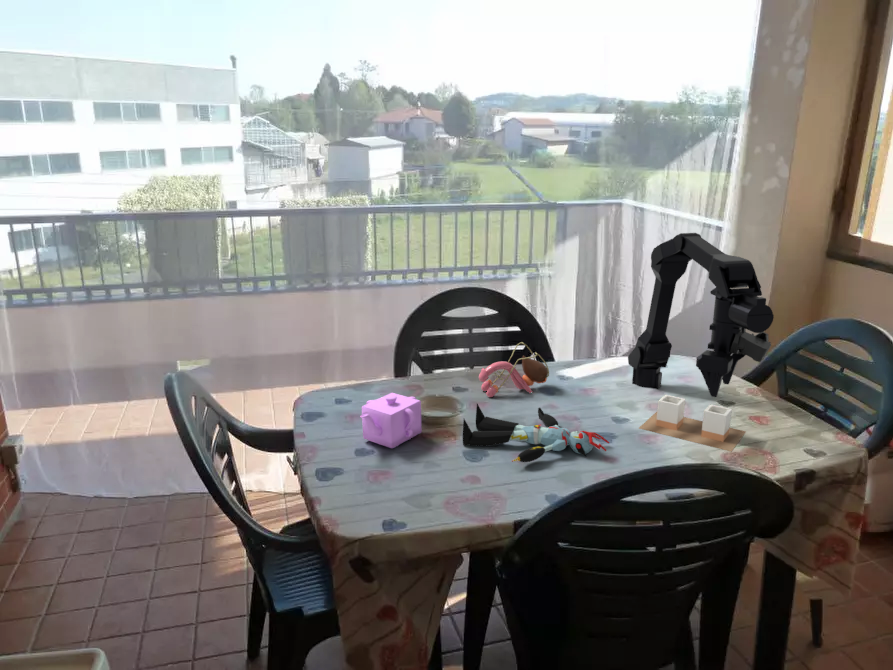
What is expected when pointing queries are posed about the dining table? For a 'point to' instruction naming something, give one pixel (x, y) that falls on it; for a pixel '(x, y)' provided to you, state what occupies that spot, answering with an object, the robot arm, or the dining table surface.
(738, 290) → the robot arm
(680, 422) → the sleeve seated
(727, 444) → the pin board
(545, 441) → the toy
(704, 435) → the sleeve loose
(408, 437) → the teapot
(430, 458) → the dining table surface
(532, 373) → the anatomy model
